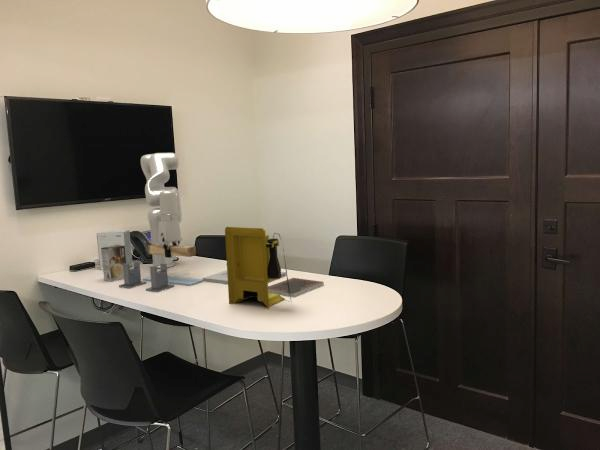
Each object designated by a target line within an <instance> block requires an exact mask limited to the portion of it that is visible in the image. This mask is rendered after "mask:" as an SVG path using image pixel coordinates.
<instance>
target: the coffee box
mask: <svg viewBox="0 0 600 450" xmlns="http://www.w3.org/2000/svg"><path fill="white" fill-rule="evenodd" d="M101 252H102V262H103V269H102V271H103V280H104V281H106V280H108V282H115V281H114V280H116V281H119V280H118V279H120V280H124V279H123V278H124V273H123V264H126V255H125V246H122V245H114V246H109V247H103V248H101Z"/></svg>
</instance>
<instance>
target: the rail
mask: <svg viewBox="0 0 600 450" xmlns="http://www.w3.org/2000/svg"><path fill="white" fill-rule="evenodd" d="M169 249H170V250H171V257H175V256H176V257H183V258H184V257H185V258H186V257H188V258H191V257H196V256H197V252H196V249H197V248H196V246H189V245H188V246H187V245H179V246H173V245H171V244H170V248H169ZM147 252H148V253H147V254H148V255H152V254H156V255H165V249H163V247H162V246H161V245H156V244H153V245H152V244H149V245H147Z"/></svg>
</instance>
